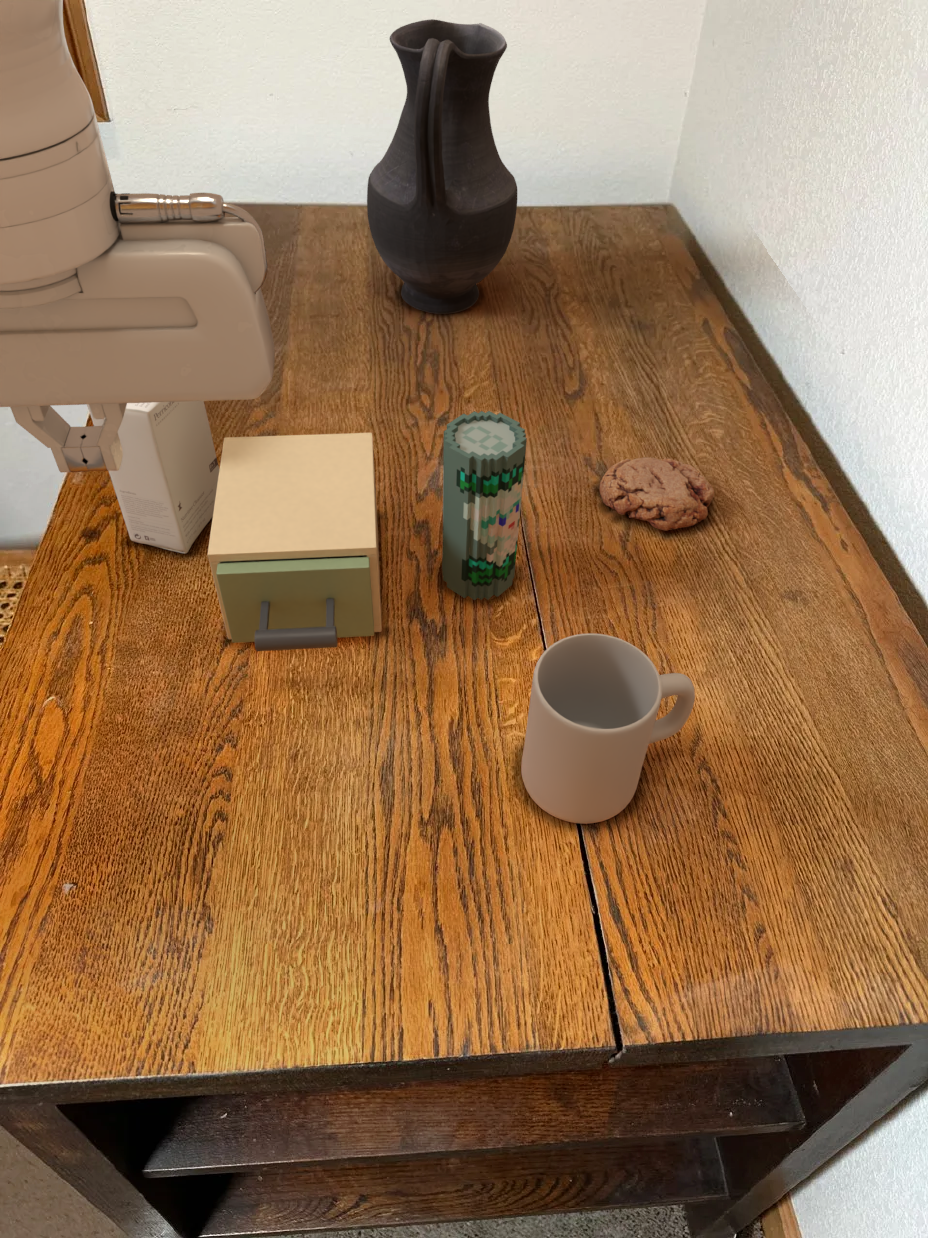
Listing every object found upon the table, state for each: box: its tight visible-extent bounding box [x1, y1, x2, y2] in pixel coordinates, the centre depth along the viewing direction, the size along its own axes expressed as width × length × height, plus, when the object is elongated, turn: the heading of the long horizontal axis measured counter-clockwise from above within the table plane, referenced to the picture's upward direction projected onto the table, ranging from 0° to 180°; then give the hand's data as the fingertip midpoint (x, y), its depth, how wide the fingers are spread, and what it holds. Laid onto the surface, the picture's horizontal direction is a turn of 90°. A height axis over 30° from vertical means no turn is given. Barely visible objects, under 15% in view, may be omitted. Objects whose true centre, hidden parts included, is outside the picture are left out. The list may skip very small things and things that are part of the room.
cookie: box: [599, 456, 715, 531], centre depth 89 cm, size 10×11×3 cm
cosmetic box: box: [86, 401, 220, 554], centre depth 81 cm, size 8×6×15 cm
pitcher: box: [366, 18, 518, 315], centre depth 104 cm, size 17×21×30 cm
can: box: [441, 410, 528, 601], centre depth 77 cm, size 6×6×15 cm
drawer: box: [216, 555, 375, 652], centre depth 76 cm, size 18×11×8 cm, turn 5°
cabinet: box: [207, 432, 383, 640], centre depth 78 cm, size 15×13×10 cm
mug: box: [520, 632, 696, 825], centre depth 65 cm, size 12×8×11 cm
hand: (92, 464), depth 49 cm, fingers closed
